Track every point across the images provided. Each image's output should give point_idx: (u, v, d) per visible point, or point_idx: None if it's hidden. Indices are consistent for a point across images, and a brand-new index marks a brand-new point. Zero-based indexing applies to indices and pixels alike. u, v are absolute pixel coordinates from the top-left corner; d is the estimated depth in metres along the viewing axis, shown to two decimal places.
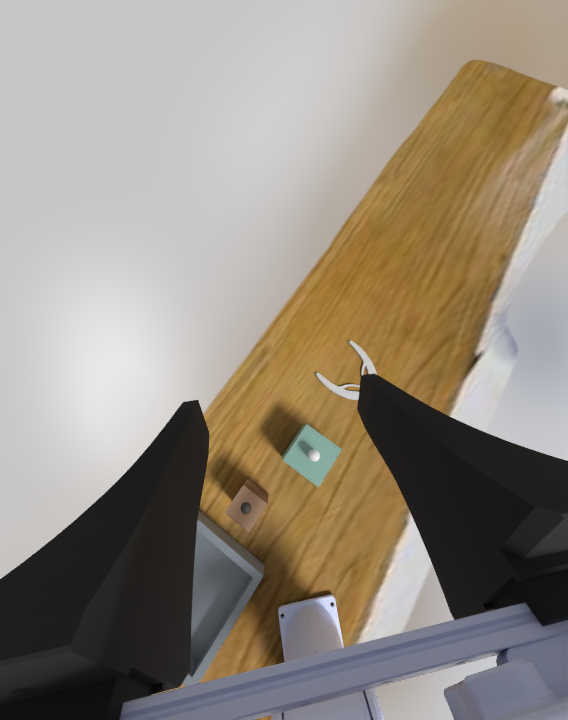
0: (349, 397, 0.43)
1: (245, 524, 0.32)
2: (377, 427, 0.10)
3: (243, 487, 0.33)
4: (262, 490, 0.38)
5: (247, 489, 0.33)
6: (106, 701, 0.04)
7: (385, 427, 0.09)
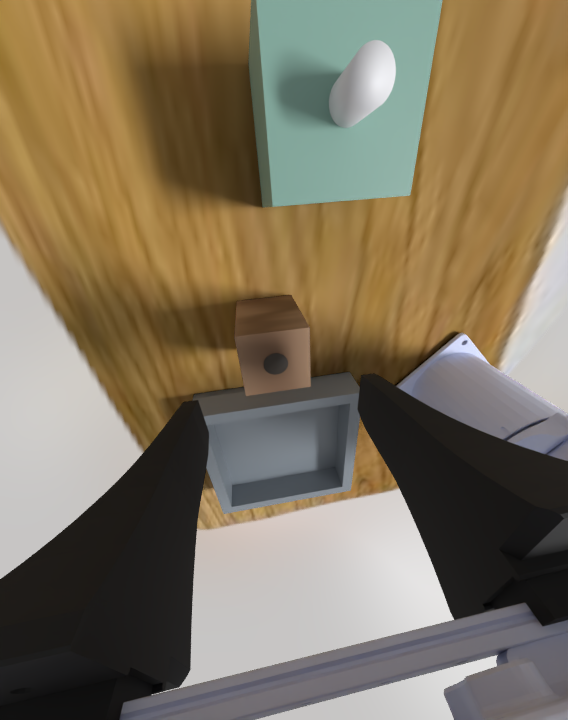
0: None
1: (295, 382, 0.15)
2: (377, 427, 0.10)
3: (238, 340, 0.13)
4: (277, 300, 0.18)
5: (249, 337, 0.13)
6: (106, 701, 0.04)
7: (385, 427, 0.09)
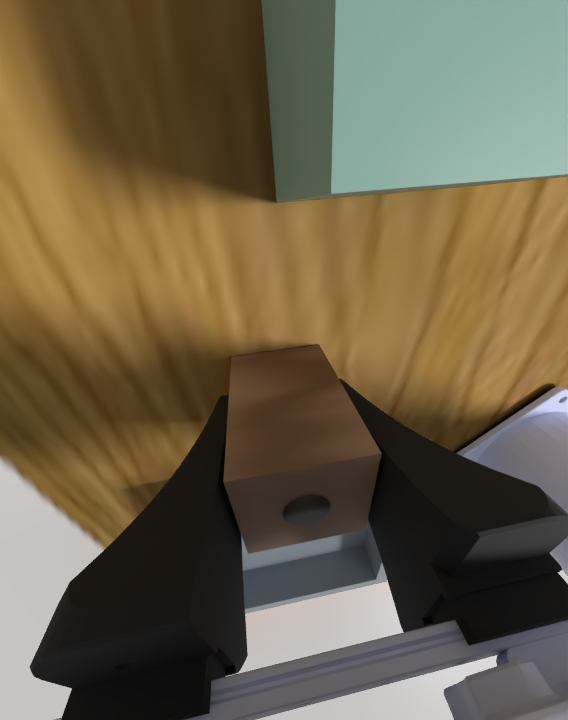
0: None
1: (340, 528, 0.08)
2: None
3: (233, 486, 0.06)
4: (298, 357, 0.11)
5: (256, 478, 0.06)
6: (200, 678, 0.04)
7: None
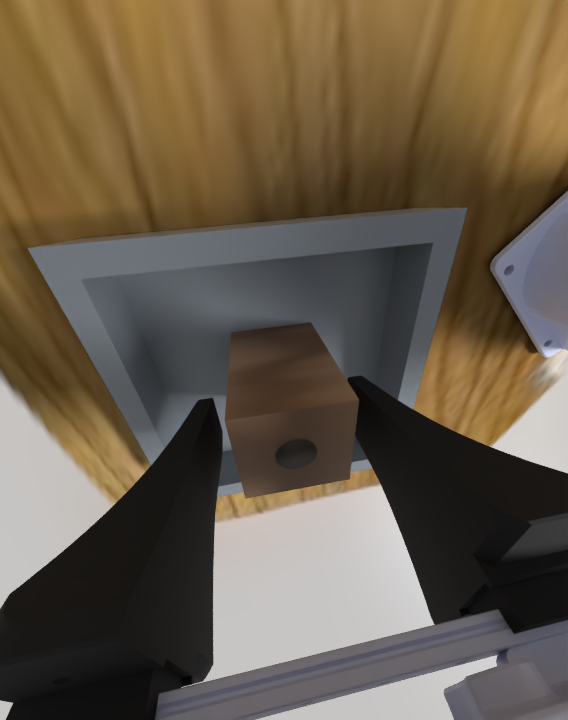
0: None
1: (326, 475, 0.09)
2: (363, 429, 0.10)
3: (232, 426, 0.07)
4: (292, 332, 0.12)
5: (252, 419, 0.07)
6: (144, 692, 0.04)
7: (370, 430, 0.09)
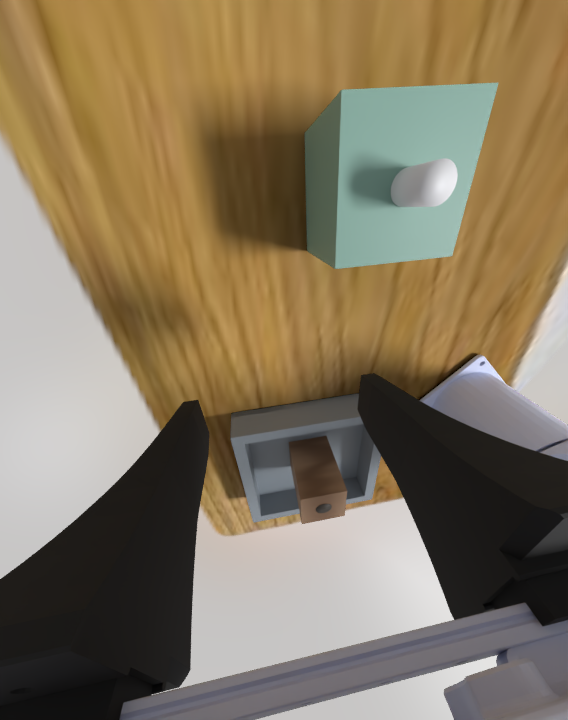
0: None
1: (335, 514, 0.23)
2: (377, 427, 0.10)
3: (302, 501, 0.21)
4: (318, 444, 0.25)
5: (309, 498, 0.21)
6: (106, 701, 0.04)
7: (385, 427, 0.09)
